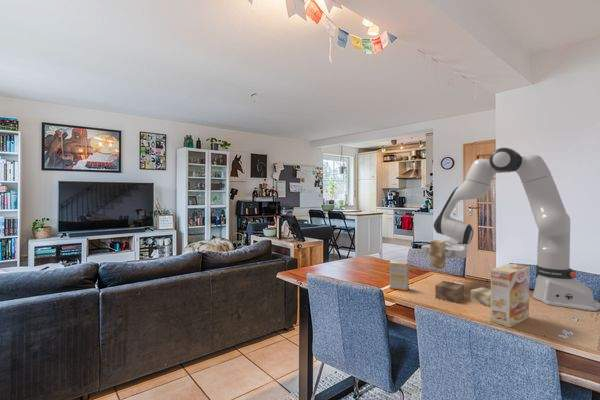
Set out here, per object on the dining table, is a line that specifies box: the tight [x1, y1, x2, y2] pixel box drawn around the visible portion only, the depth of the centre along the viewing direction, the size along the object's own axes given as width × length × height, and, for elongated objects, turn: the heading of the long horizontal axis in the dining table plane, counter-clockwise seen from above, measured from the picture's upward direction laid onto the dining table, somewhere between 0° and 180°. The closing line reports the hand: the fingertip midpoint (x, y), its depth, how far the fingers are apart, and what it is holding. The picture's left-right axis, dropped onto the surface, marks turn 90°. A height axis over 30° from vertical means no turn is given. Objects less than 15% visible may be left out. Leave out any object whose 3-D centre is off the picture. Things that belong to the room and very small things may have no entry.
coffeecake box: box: [489, 263, 531, 328], centre depth 121 cm, size 15×7×20 cm, turn 123°
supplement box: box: [388, 260, 410, 292], centre depth 160 cm, size 8×5×13 cm, turn 58°
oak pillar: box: [429, 239, 446, 270], centre depth 153 cm, size 5×5×12 cm
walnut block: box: [434, 280, 465, 304], centre depth 145 cm, size 9×9×6 cm
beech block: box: [470, 286, 491, 308], centre depth 139 cm, size 8×8×5 cm
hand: (437, 253), depth 152 cm, fingers closed on oak pillar, 5 cm apart
